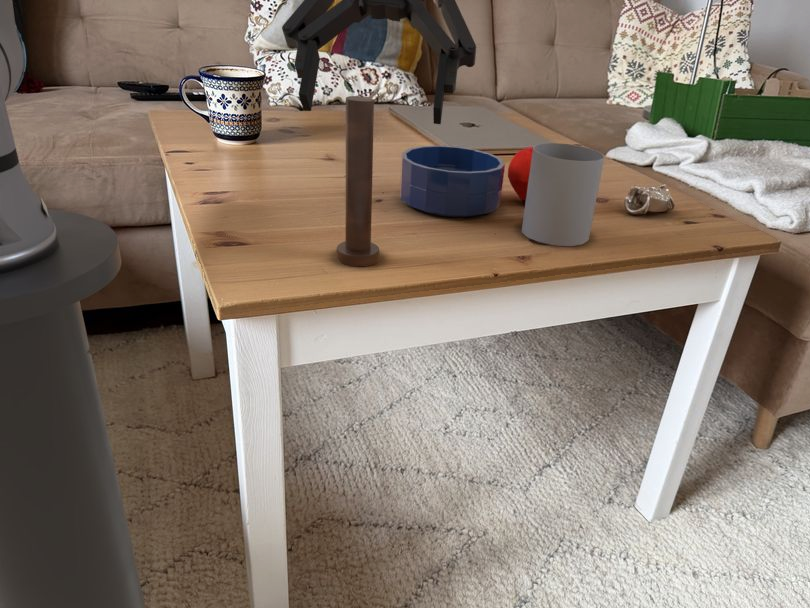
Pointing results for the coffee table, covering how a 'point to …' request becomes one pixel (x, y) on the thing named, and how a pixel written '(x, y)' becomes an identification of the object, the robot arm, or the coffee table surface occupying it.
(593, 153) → the cup
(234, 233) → the coffee table surface
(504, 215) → the coffee table surface
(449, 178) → the bowl
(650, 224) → the coffee table surface
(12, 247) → the robot arm
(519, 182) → the apple
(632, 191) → the ornament
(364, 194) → the cylinder with round base
